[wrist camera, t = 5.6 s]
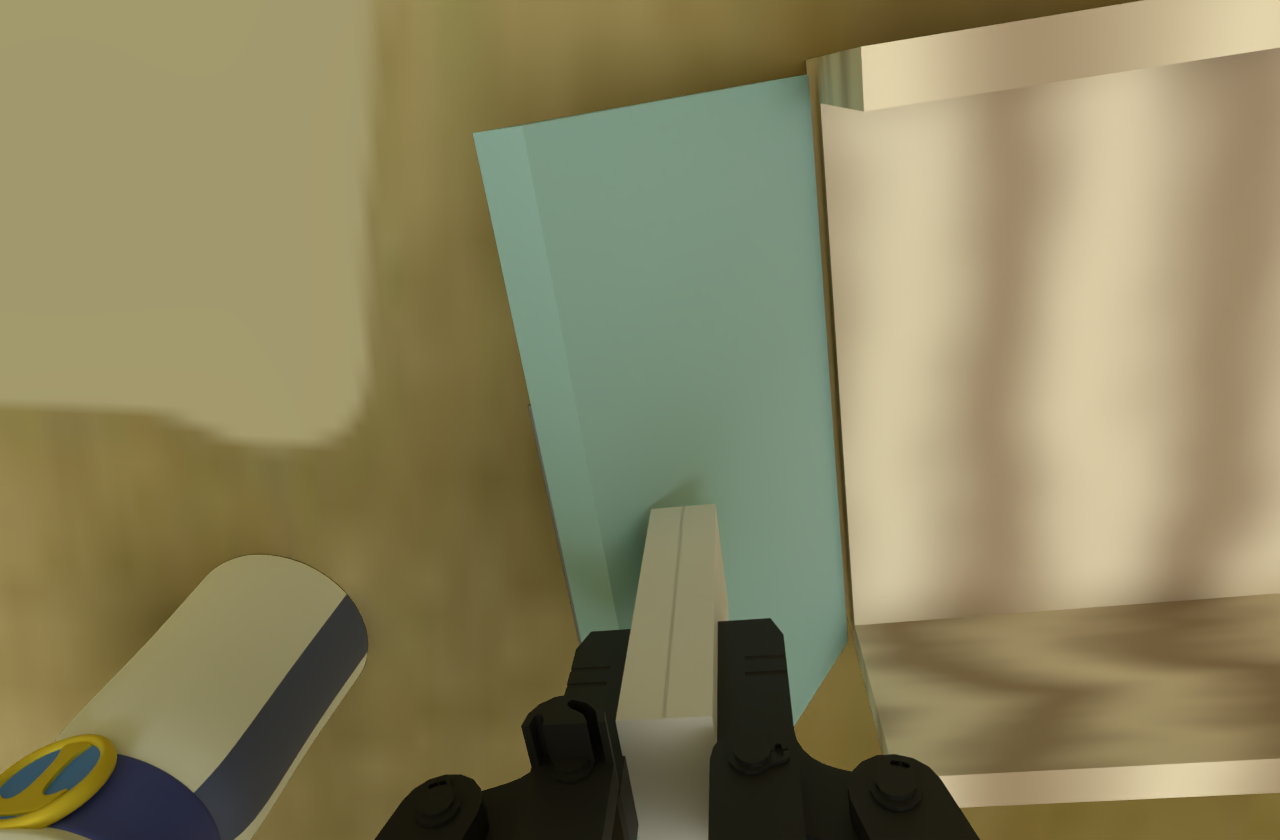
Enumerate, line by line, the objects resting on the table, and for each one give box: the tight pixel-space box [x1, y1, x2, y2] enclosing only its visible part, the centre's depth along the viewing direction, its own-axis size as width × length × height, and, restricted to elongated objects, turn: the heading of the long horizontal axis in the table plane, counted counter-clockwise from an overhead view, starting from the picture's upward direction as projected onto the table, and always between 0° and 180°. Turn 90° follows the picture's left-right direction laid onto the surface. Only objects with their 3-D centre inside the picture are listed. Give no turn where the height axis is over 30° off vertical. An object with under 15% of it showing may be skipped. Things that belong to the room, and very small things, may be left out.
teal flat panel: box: [473, 74, 848, 840], centre depth 22 cm, size 2×19×12 cm, turn 9°
